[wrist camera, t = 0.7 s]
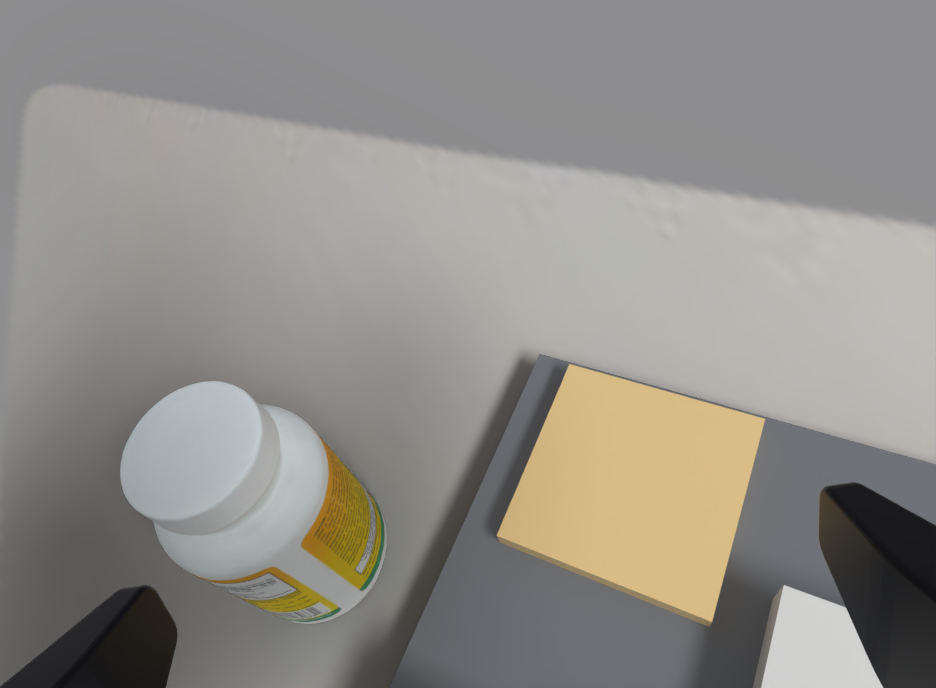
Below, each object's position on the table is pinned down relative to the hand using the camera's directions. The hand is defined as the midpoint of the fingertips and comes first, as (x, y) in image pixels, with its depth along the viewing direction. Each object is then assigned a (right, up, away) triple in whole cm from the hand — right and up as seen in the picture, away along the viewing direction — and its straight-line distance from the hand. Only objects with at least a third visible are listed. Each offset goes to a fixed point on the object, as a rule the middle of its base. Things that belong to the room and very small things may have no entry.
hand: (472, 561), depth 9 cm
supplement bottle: (-5, -5, +17) cm, 18 cm away
